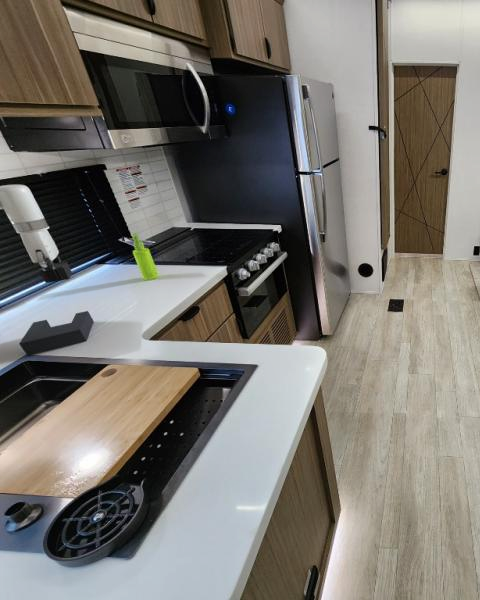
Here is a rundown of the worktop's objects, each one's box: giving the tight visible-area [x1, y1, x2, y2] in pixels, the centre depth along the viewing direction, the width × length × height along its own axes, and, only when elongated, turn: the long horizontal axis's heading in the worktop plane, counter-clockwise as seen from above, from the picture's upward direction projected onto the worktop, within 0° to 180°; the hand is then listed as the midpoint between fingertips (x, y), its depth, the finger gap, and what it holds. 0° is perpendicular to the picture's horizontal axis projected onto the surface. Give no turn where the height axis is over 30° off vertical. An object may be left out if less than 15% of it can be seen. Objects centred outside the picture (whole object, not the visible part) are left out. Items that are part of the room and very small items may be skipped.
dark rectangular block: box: [18, 310, 94, 356], centre depth 107 cm, size 14×14×4 cm
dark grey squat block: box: [38, 261, 73, 284], centre depth 113 cm, size 6×6×4 cm
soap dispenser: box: [130, 233, 160, 281], centre depth 146 cm, size 6×7×20 cm
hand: (58, 276), depth 114 cm, fingers closed on dark grey squat block, 6 cm apart
